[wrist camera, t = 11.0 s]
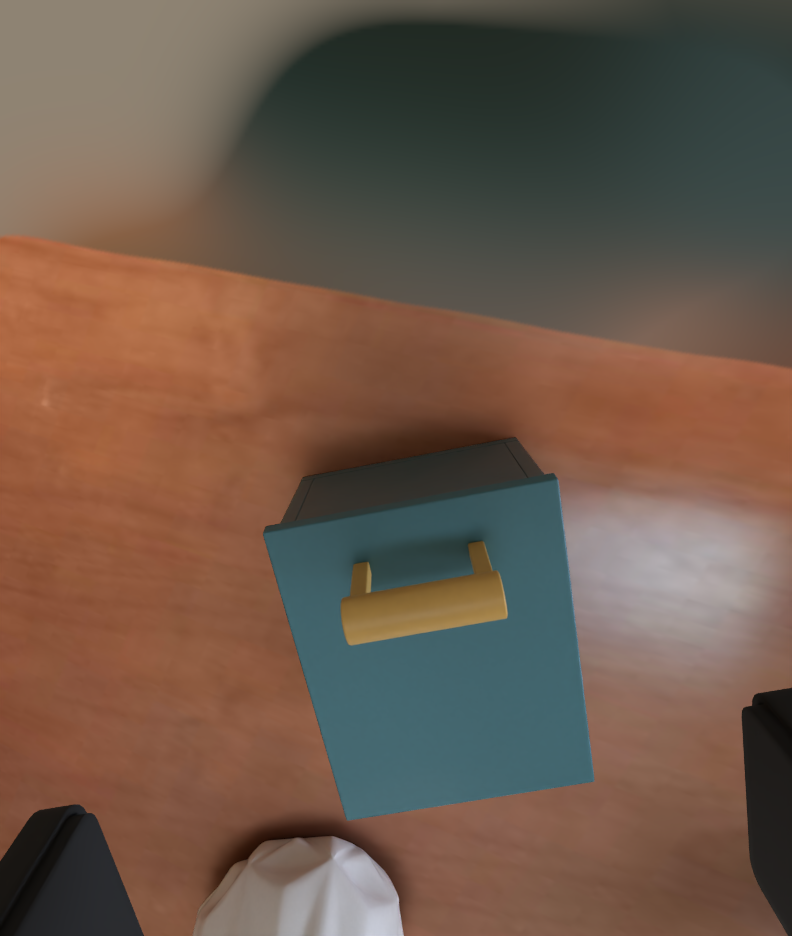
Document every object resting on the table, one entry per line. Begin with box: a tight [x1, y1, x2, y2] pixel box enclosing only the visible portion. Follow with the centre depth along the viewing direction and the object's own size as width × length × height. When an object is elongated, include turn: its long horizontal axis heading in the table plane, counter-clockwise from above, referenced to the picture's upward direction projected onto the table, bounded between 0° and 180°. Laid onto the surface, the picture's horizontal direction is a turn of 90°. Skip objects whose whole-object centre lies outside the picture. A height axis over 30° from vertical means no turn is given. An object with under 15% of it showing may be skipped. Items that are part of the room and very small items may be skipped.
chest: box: [280, 437, 544, 524], centre depth 36 cm, size 16×13×9 cm
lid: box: [263, 473, 594, 820], centre depth 28 cm, size 16×13×6 cm
